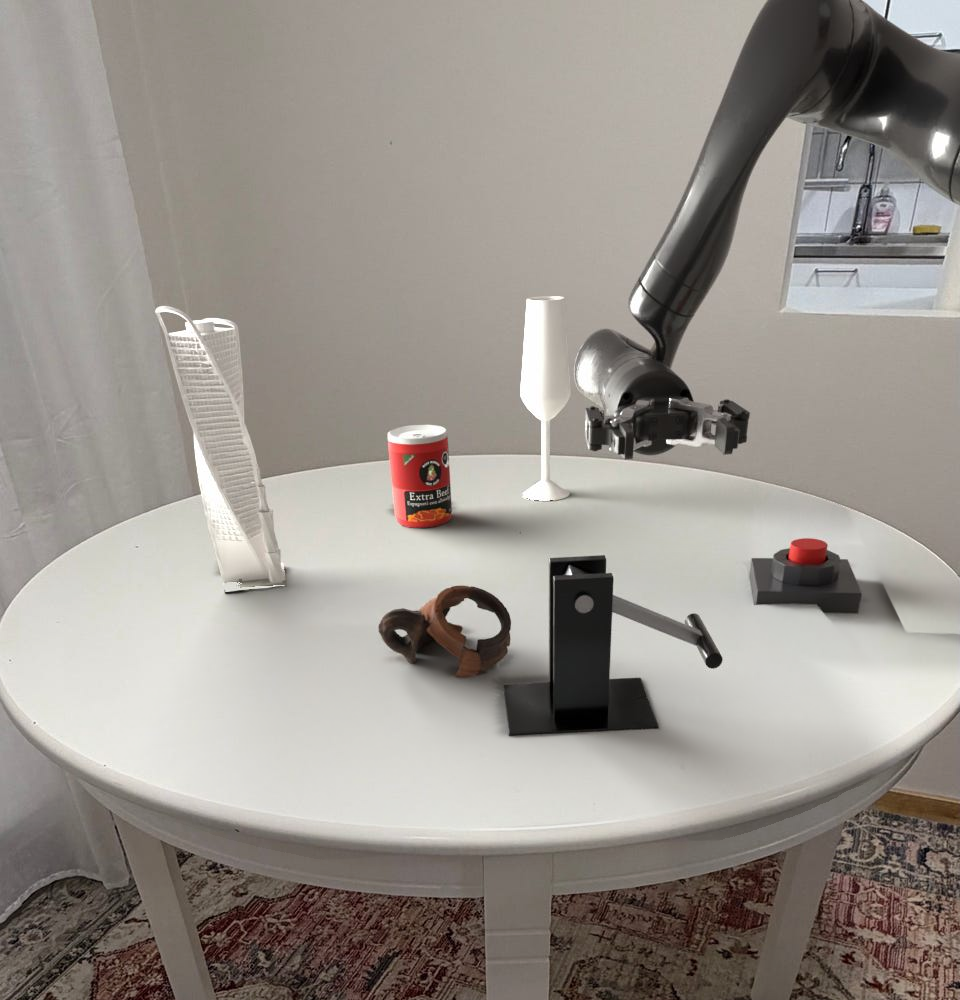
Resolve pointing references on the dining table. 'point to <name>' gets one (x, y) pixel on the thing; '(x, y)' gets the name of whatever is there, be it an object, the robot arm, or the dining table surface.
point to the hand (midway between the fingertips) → (679, 444)
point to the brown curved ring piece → (448, 630)
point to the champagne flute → (545, 379)
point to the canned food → (420, 475)
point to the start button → (808, 551)
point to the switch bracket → (579, 663)
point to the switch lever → (667, 625)
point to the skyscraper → (225, 450)
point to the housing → (805, 583)
